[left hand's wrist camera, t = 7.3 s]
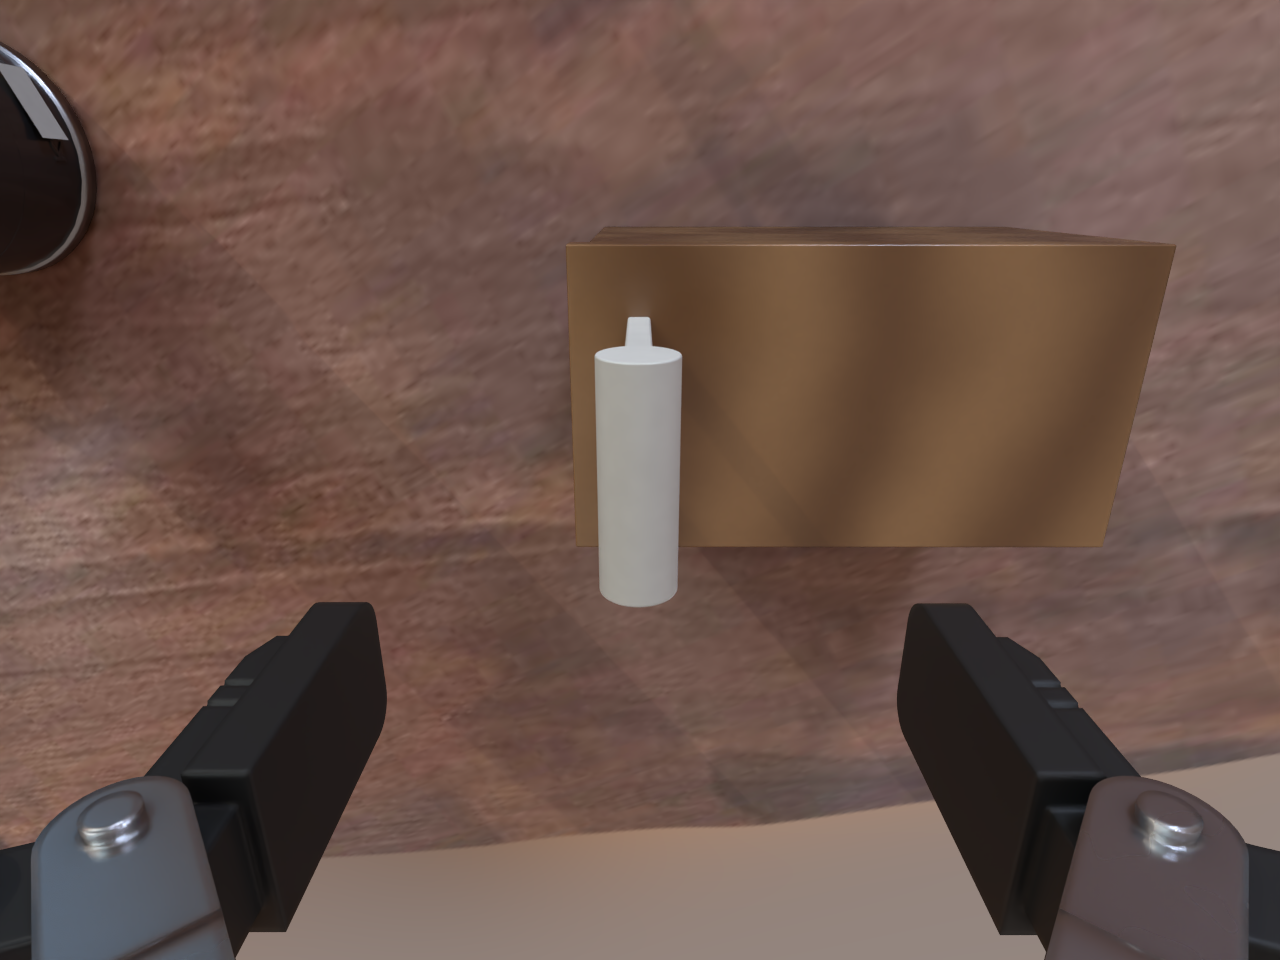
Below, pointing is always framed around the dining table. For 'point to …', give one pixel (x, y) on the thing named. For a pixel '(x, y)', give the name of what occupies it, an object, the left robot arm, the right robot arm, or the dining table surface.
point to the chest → (839, 234)
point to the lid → (850, 395)
